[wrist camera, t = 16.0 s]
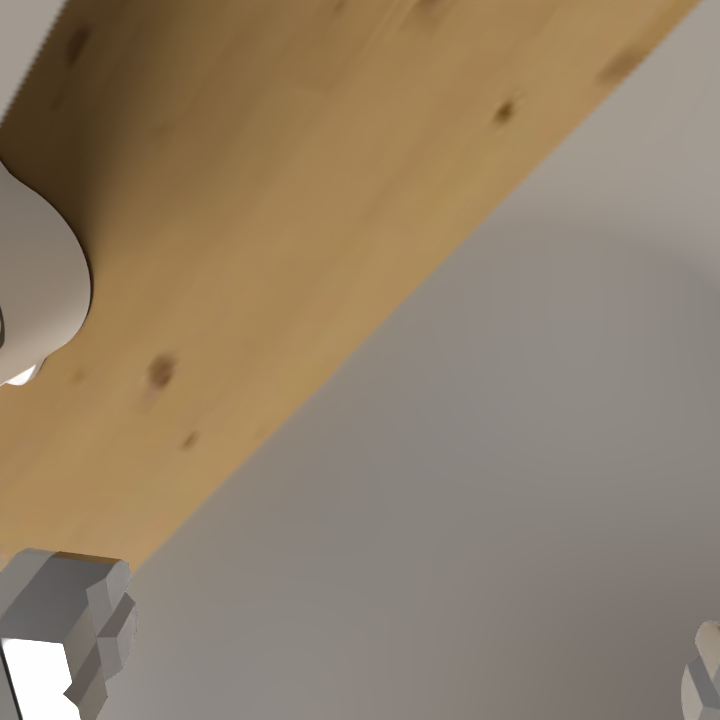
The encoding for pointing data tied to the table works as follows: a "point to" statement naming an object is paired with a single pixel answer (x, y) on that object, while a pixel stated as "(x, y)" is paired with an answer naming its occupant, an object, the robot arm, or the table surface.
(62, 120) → the table surface
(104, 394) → the table surface
